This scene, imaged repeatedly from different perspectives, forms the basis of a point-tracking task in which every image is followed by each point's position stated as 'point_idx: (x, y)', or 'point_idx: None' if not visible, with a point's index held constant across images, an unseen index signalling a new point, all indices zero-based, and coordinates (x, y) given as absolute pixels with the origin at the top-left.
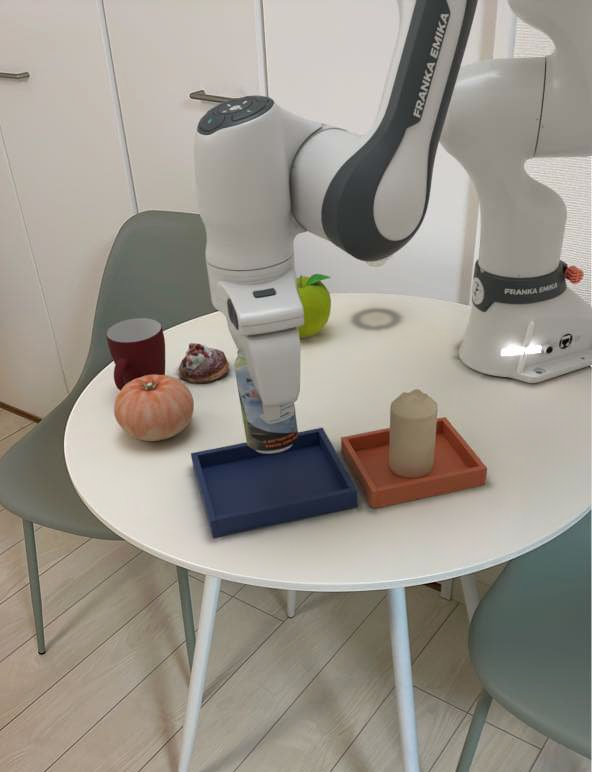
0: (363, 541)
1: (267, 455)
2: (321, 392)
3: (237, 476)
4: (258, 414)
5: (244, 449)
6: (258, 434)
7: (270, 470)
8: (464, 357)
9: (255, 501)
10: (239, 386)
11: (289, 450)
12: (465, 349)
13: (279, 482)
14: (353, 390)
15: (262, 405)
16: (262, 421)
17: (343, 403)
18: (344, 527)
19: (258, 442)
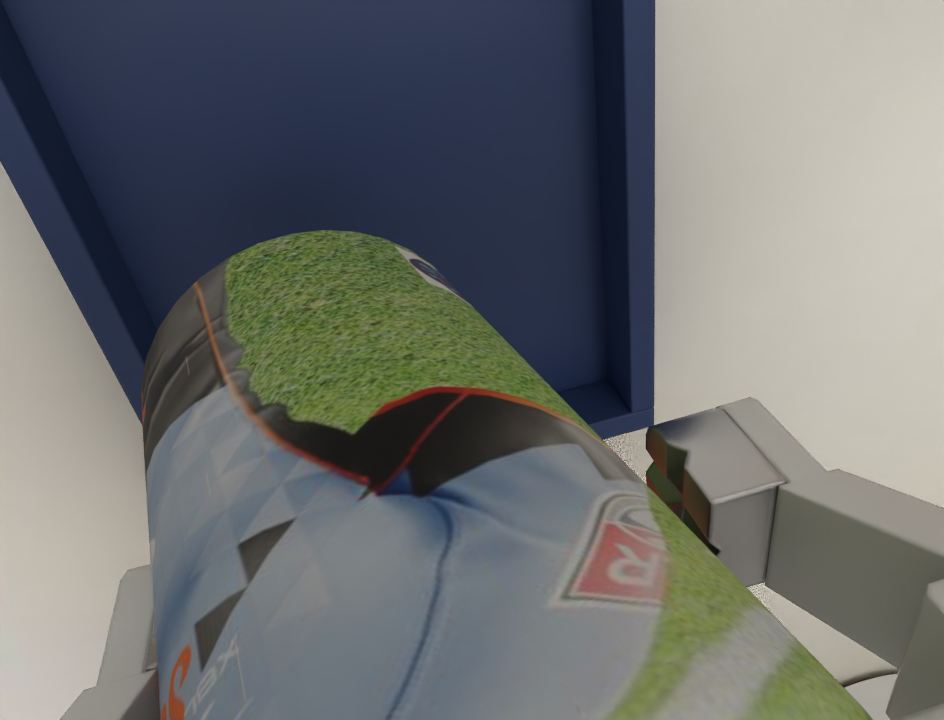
0: (4, 512)
1: (592, 184)
2: (931, 371)
3: (456, 32)
4: (158, 546)
5: (616, 91)
6: (154, 409)
7: (475, 197)
8: (865, 696)
9: (232, 125)
10: (337, 595)
11: (602, 275)
12: (884, 713)
13: (377, 236)
14: (885, 460)
15: (155, 657)
16: (150, 523)
17: (830, 436)
18: (85, 457)
19: (157, 365)
